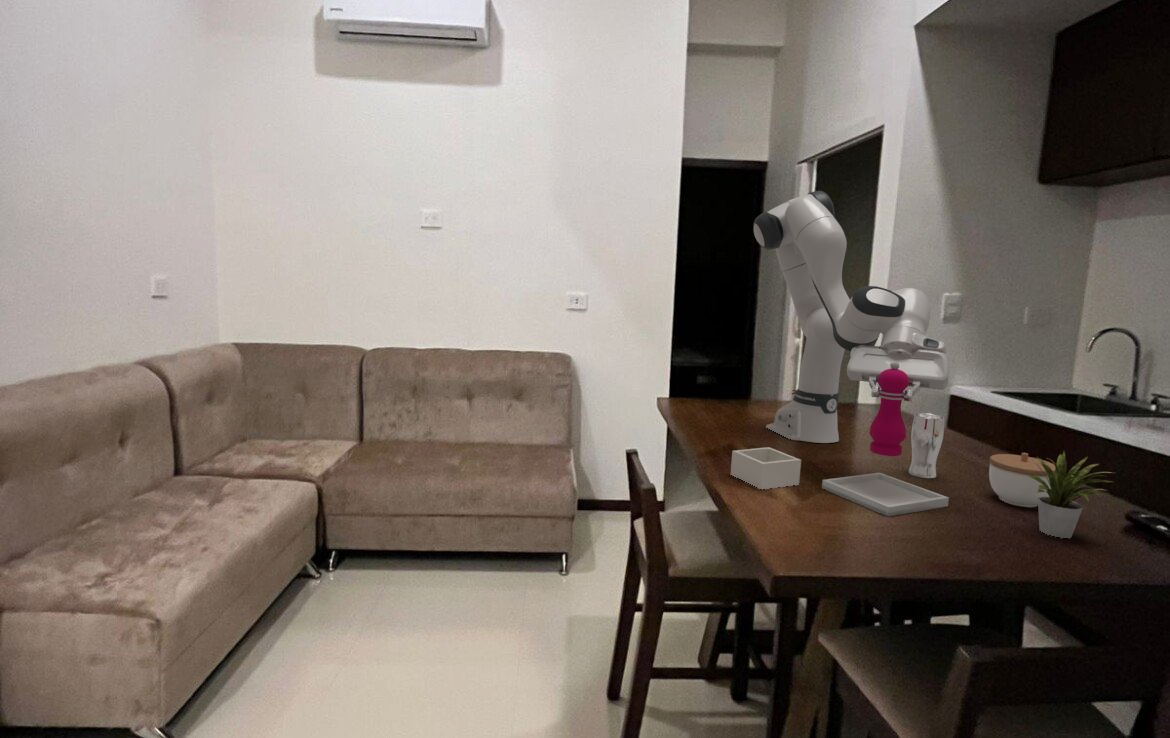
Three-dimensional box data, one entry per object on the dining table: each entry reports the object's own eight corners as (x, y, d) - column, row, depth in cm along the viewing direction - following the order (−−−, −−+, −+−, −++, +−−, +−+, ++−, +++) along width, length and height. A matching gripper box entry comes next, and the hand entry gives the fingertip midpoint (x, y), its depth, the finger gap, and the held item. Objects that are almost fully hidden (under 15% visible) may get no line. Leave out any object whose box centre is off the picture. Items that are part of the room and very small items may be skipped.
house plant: (1070, 555, 116) (1084, 467, 113) (994, 526, 128) (1006, 446, 126) (1116, 544, 122) (1131, 460, 119) (1040, 517, 134) (1052, 441, 132)
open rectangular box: (730, 475, 154) (732, 450, 153) (767, 470, 159) (769, 447, 158) (760, 490, 144) (763, 464, 143) (798, 485, 149) (801, 459, 148)
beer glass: (906, 475, 160) (913, 416, 157) (907, 468, 166) (913, 411, 163) (938, 481, 156) (945, 420, 154) (937, 473, 162) (945, 415, 160)
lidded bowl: (972, 495, 147) (978, 447, 145) (1008, 489, 152) (1015, 444, 150) (1028, 514, 136) (1036, 464, 134) (1065, 508, 141) (1073, 459, 139)
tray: (821, 488, 147) (822, 479, 147) (878, 480, 155) (879, 472, 154) (887, 516, 131) (888, 507, 131) (947, 506, 139) (948, 497, 138)
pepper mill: (875, 446, 146) (885, 358, 143) (909, 453, 141) (919, 362, 138) (861, 451, 141) (871, 360, 139) (895, 459, 136) (906, 365, 133)
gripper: (851, 335, 149) (839, 383, 142) (953, 343, 138) (944, 395, 132) (853, 353, 153) (841, 399, 147) (952, 362, 143) (943, 412, 136)
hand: (891, 397), depth 139 cm, fingers closed on pepper mill, 5 cm apart
